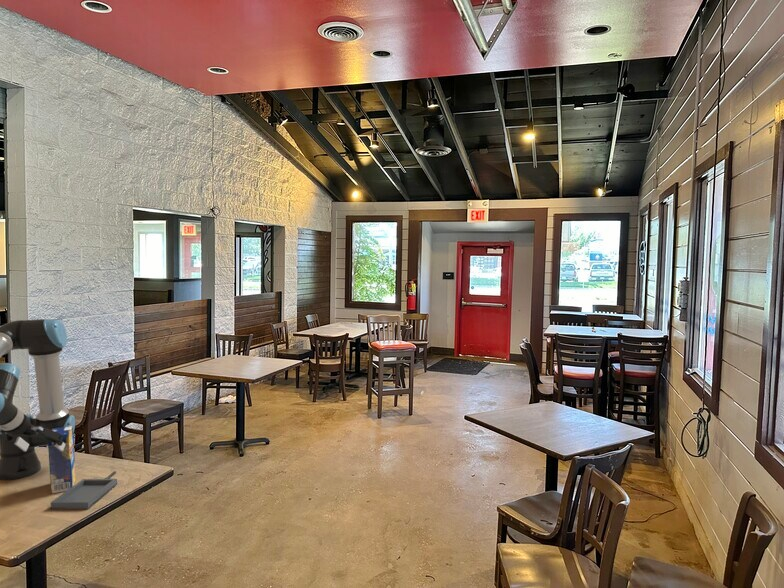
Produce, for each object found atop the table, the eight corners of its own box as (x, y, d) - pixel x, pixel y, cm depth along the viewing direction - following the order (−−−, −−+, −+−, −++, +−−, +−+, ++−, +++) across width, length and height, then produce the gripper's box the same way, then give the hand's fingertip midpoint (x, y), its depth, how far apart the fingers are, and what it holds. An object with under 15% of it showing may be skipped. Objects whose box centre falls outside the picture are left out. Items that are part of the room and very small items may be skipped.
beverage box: (75, 478, 211) (72, 425, 209) (72, 490, 201) (68, 434, 199) (55, 482, 208) (52, 428, 206) (51, 493, 198) (47, 437, 196)
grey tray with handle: (98, 473, 216) (98, 467, 216) (131, 473, 216) (130, 467, 216) (51, 509, 186) (50, 502, 186) (88, 509, 186) (88, 502, 185)
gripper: (-30, 431, 175) (6, 457, 191) (44, 431, 175) (74, 457, 191) (-19, 411, 180) (16, 438, 196) (53, 411, 180) (82, 438, 196)
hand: (45, 447), depth 193 cm, fingers open, 13 cm apart
